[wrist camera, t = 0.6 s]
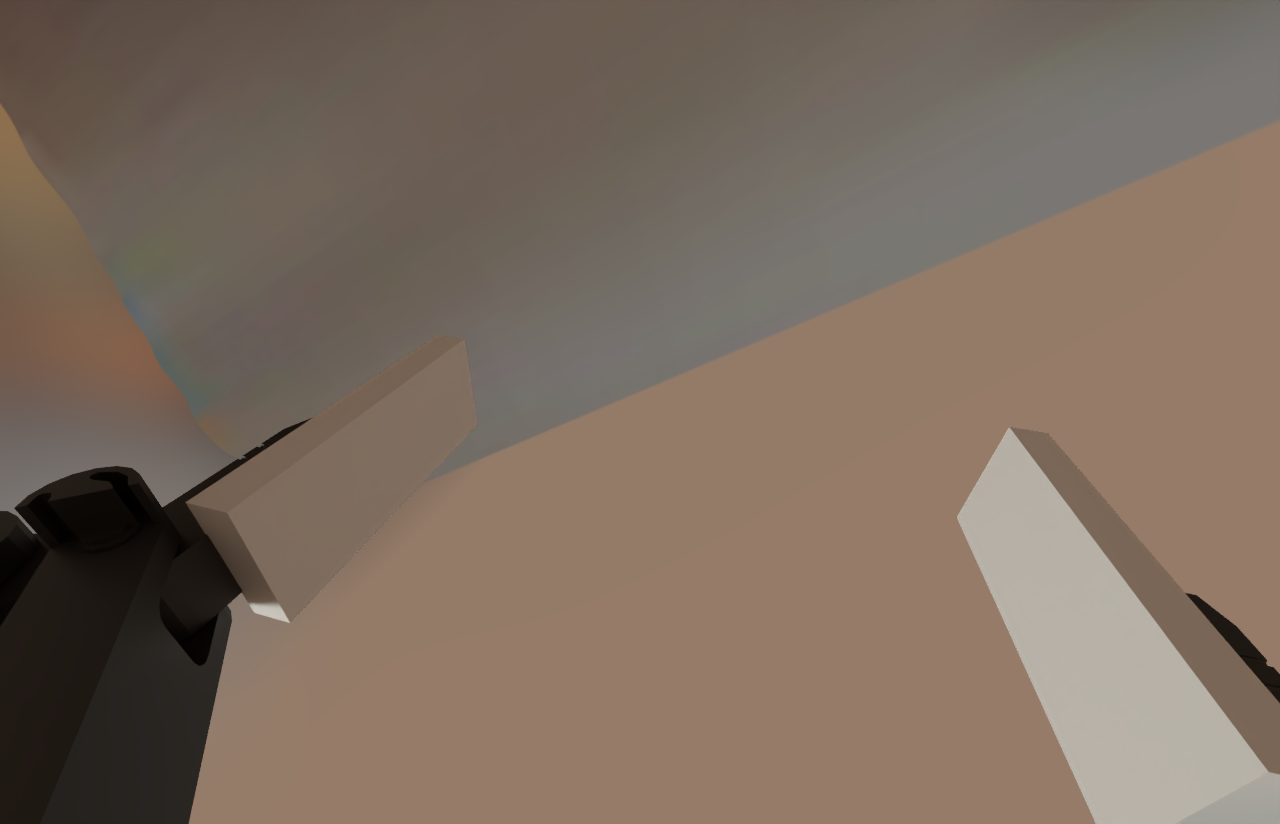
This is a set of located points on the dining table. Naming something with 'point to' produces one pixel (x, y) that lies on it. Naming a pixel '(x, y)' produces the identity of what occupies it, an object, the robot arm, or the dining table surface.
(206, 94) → the dining table surface
